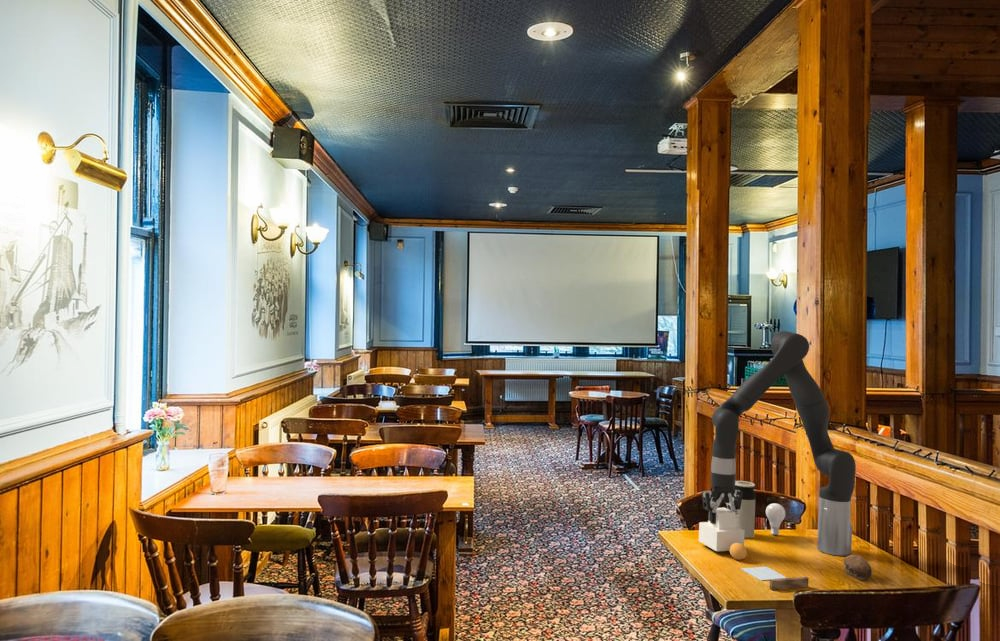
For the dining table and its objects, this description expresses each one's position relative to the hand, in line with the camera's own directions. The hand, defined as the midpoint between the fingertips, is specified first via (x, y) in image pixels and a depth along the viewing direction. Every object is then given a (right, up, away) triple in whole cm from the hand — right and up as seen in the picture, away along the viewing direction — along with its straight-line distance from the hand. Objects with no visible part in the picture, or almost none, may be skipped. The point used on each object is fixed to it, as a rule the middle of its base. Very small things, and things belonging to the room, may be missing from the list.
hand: (721, 522), depth 212 cm
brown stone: (+33, -10, -20) cm, 40 cm away
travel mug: (+12, -9, +16) cm, 22 cm away
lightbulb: (+24, -10, +17) cm, 32 cm away
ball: (+2, -6, -9) cm, 11 cm away
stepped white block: (0, -7, 0) cm, 7 cm away
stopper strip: (+8, -9, -31) cm, 33 cm away
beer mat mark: (+5, -9, -20) cm, 23 cm away
